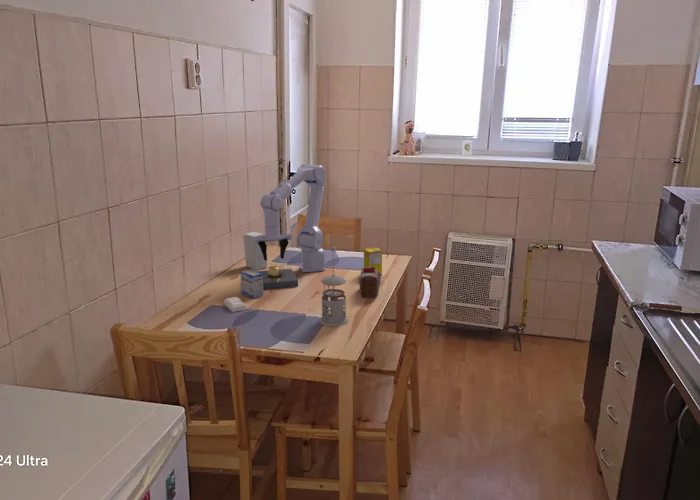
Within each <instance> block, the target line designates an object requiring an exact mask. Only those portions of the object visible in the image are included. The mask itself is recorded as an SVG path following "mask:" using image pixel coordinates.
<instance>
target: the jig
mask: <svg viewBox="0 0 700 500" xmlns="http://www.w3.org/2000/svg"><path fill="white" fill-rule="evenodd" d="M251 270H252V271H255V272H258V273H261V274H263V290H273V289H282V288H284V289H285V288H294V287H299V280H298V277H297V275H296V274H295V272H294V270H293V269H292V268H283V269H282V268H281V269H279V277H278V278H269V269H268V270H257V269H256V267H252V268H251Z"/></svg>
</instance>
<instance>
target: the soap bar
mask: <svg viewBox="0 0 700 500" xmlns="http://www.w3.org/2000/svg"><path fill="white" fill-rule="evenodd" d="M223 304H224V306H225V307H226V308H228V309H229V310H230V311H231V312H232V313H236V312H239V311H245V310H247V305H246V304H245V303H244V302H243V301H242V300H241V299H240V298H239V297H238V296H233V297H229V298H228V297H227V298H224V300H223Z"/></svg>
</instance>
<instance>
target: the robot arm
mask: <svg viewBox="0 0 700 500" xmlns="http://www.w3.org/2000/svg"><path fill="white" fill-rule="evenodd" d="M326 174H327V172H326V170H325V168H324V166H322V165H321V164H320V165H316V164H315V165H313V164H306V163H303V164H301V165H300V166H298V167H297V171H296V172H295V173H294V174H293V175H292V176H291V177H290V178H289V179H288V180H287V181H286V182H279V183H278V186H277V187H275V188H274V189H272V190H271V191H270V193H266V194H264V195H263V196H262V198H261V201H260V202H259V203H260V206H261V208H262V212H263V213H264V215H263V217H264V232H265V233H264V236H261V237H254V243H258V245H259V246H260V248H261V251H262V253H263V257H264V260H265V261H268V252H267V250H268V248H267V247H268V246H267V243H269V242H277V241H279V242H278V243H279V249H280V250H279V251H280V252H279V255H280V259H285V253H286V249H287V247H288V245H289V241H291V240H293V239H292V236H293V235H292V234H290V233H285V234H284V233H283V234H281V222H280V209H281V208H282V206H283V204H284V202H285V201H286V199H288V198H289V197H291V195H292V193H293V189H295V188H296V187H298V186H299V185H301V184H302V182H304V183H306V184H307V186H308V187H310V188H309V189H310V192H309V197H308V203H307V211H306V217H305V223H304V224H305V225H304V226H302V227H301V228H300V230H299V233H298V235H297V239H296V243H297V245H298V246H299V249H301V266H299V268H300V270H301V271H302V273H308V272H309V273H313V272H320V271H321V272H322V271H323V272H324V271H326V269H325V268H326V266H325V251H324V248H323V247H322V245H323V231H322V230H321V229H320V228H319V221H320V216H321V209H322V204H323V203H322V202H323V196H324V190H325V182H326V176H327V175H326Z"/></svg>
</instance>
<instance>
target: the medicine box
mask: <svg viewBox="0 0 700 500" xmlns="http://www.w3.org/2000/svg"><path fill="white" fill-rule="evenodd" d="M240 287H241V290H240V293H241V294H242V295H244V296H247V297H249V298H253V299H256V298H257V299H258V298H261V297H264V289H263V274H261V273H258V272H255V271H252V269H246V270H243V271H240Z"/></svg>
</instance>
